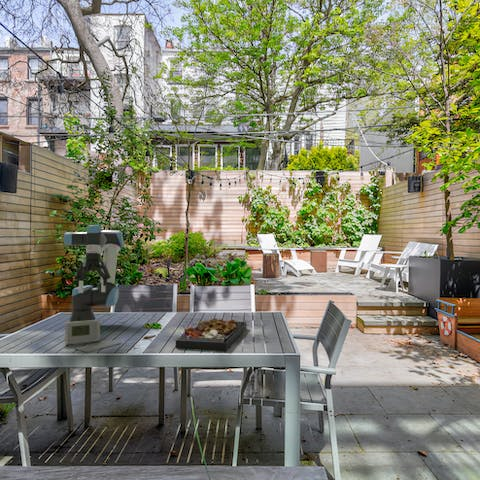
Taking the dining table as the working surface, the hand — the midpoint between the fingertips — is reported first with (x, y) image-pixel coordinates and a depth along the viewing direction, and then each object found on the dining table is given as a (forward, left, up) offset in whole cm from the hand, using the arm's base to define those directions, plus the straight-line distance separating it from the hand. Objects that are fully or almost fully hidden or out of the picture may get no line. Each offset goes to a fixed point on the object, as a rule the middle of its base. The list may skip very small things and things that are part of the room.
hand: (91, 292), depth 197 cm
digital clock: (+8, -10, -24) cm, 27 cm away
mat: (+21, -10, -23) cm, 33 cm away
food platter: (+57, +34, -24) cm, 70 cm away
